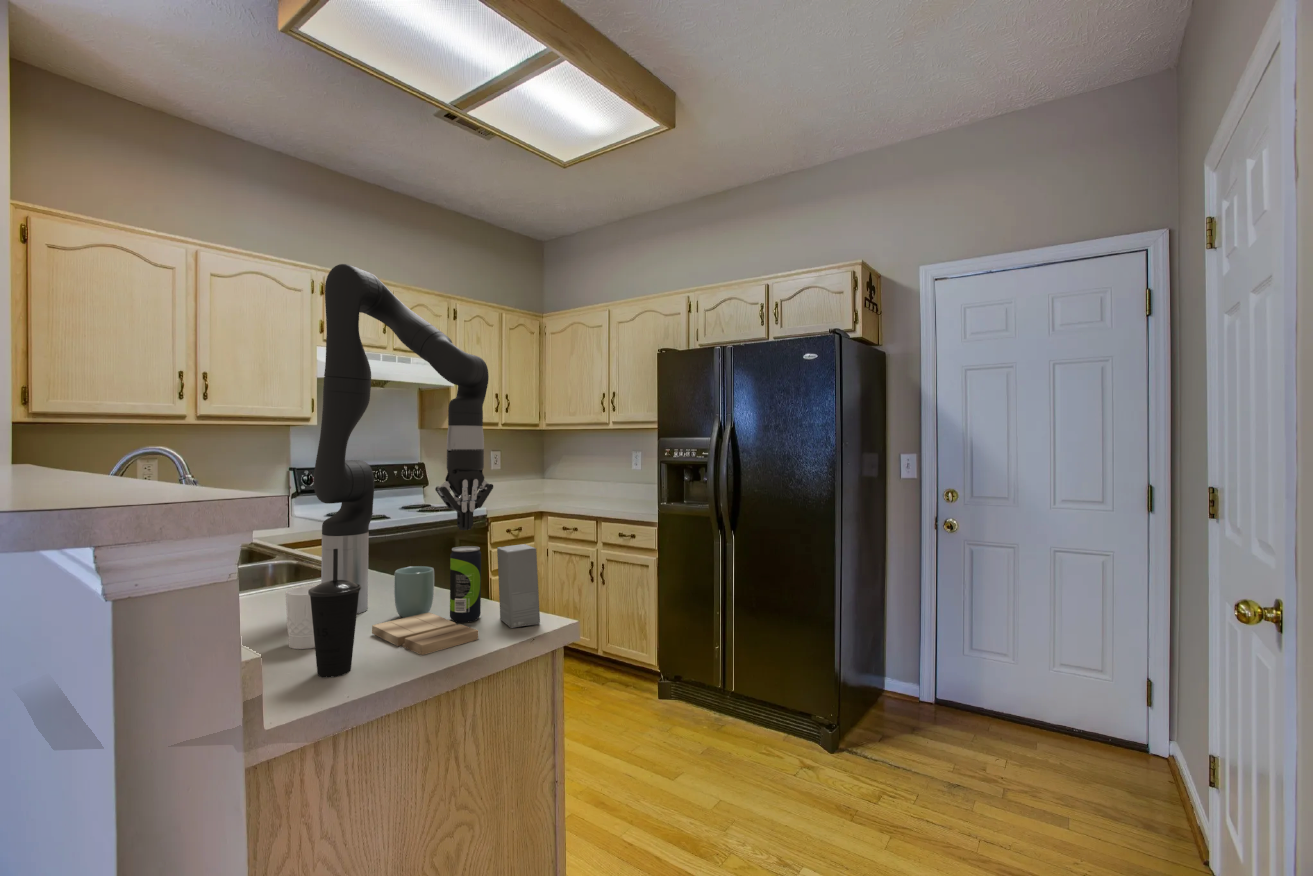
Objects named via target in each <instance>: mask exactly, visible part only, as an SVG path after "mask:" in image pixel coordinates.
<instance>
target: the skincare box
mask: <svg viewBox="0 0 1313 876" xmlns="http://www.w3.org/2000/svg"><path fill="white" fill-rule="evenodd" d="M496 553H497V555H496V556H497V557H496V558H497V573H498V595H499V596H498V598H499V620H500V621H502V622H503V623H504V624H505V625H507V626H508V627H509V628H513V629H514V628H520V627H525V626H533V625H534V626H535V625H540V623H541V615H540V595H539V594H540V593H539V580H538V579H539V578H538V577H539V576H538V573H539V572H538V556H537V555H538V554H537V548H536V547H533V546H531V545H528V544H526V543H524V544H523V543H522V544H516V545H506V546H499V547H497V549H496Z"/></svg>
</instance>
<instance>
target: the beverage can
mask: <svg viewBox="0 0 1313 876" xmlns="http://www.w3.org/2000/svg"><path fill="white" fill-rule="evenodd" d="M480 549H481V547H479V546H473V545H471V546H470V545H465V546H456V547H452V548H451V553H450V557H449V558H450V559H449V560H450V562H449V563H450V566H449V567H450V572H449V573H450V574H449V619H451V621H452V622H455V623H459V624H462V623H463V624H464V623H472V622H475V621H477V620H478V619H479V617H480V616H481V608H482V605H481V603H482V602H481V600H482V599H481V597H482V594H481V593H482V590H481V589H482V552H481V550H480Z"/></svg>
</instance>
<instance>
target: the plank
mask: <svg viewBox="0 0 1313 876" xmlns="http://www.w3.org/2000/svg"><path fill="white" fill-rule="evenodd" d="M455 625H457V622H454V621H453V620H449V619H446V617H442V616H441V615H437V614H434V613H432V612H430V611H429V613H424V614H420V615H415V616H411V617H406V618H403V617H401V618H398V619H393V620H389V621H385V622H380V623H376V624H372V625H371V634H372V635H374V636H376V637H378V638H380V639H382V640H385V641H386V642H388V643H391V644H392V645H395V646H397V647H400V646H401V647H402V644H405V638H408V637H412V636H416V635H420V634H424V633H428V632H432V631H436V630H440V629H444V628H448V627H451V626H455Z"/></svg>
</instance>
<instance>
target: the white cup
mask: <svg viewBox="0 0 1313 876" xmlns="http://www.w3.org/2000/svg"><path fill="white" fill-rule="evenodd" d="M317 585H318V584H311V585H310V584H309V585H302V586H298V587H293V588H290V589H287V590H286V591H285V603H286V604H285V605H286V608H285V609H286V627H287V629H286V630H287V633H288V647H289V648H290V649H291V648H292V649H293V650H296V649H297V650H307V649H315V642H314V631H313V620H312V609H311V599H310V595H309V594H308V590H309V589H311V588H313V587H315V586H317Z"/></svg>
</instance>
